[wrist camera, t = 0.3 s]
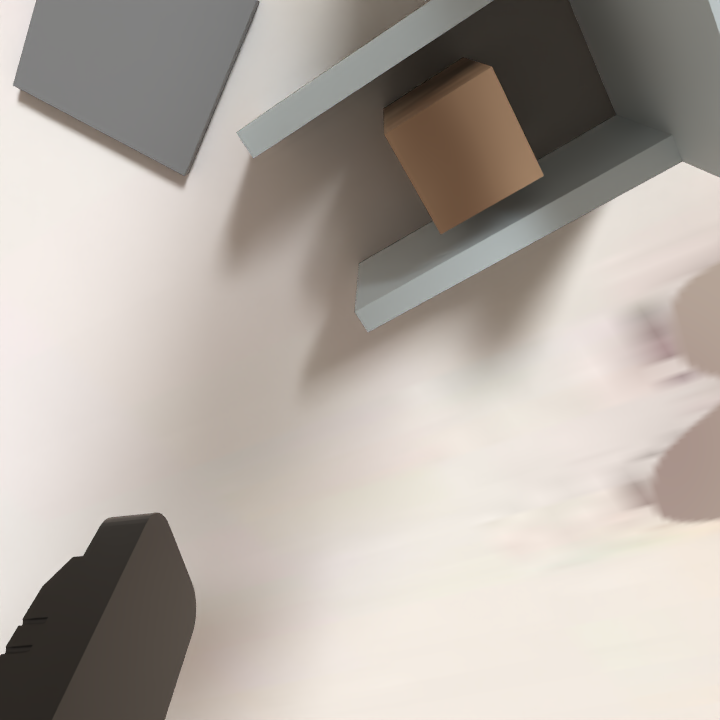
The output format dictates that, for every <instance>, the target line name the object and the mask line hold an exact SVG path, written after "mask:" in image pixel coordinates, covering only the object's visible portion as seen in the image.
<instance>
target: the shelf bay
mask: <svg viewBox="0 0 720 720" xmlns="http://www.w3.org/2000/svg"><path fill="white" fill-rule="evenodd" d="M492 1H493V0H430V1H429V2H427V3H426V4H424V5H423V6H421V7H420V8H418V9H417V10H416V11H414V12H413V13H411V14H410V15H408V16H407V17H405V18H404V19H402V20H401V21H399V22H398V23H396V24H395V25H393V26H392V27H390V28H389V29H387V30H386V31H385V32H383V33H382V34H380V35H379V36H377V37H376V38H374V39H373V40H371V41H370V42H368V43H367V44H365V45H364V46H362V47H361V48H359V49H358V50H356V51H355V52H354V53H352V54H351V55H349V56H348V57H346V58H345V59H343V60H342V61H340V62H339V63H337V64H336V65H334V66H333V67H331V68H330V69H328V70H327V71H325V72H324V73H322V74H321V75H320V76H318V77H317V78H315V79H314V80H312V81H311V82H309V83H308V84H306V85H305V86H303V87H302V88H300V89H299V90H297V91H296V92H294V93H293V94H291V95H290V96H289V97H287V98H286V99H284V100H283V101H281V102H280V103H278V104H277V105H275V106H274V107H272V108H271V109H269V110H268V111H266V112H265V113H263V114H262V115H261V116H259V117H258V118H256V119H255V120H253V121H252V122H251V123H249V124H248V125H246V126H245V127H244V128H242V129H241V130H239V131H238V132H236V133H237V134H238V136H239V137H240V139H241V140H242V142H243V143H244V145H245V147H246V148H247V150H248V151H249V153H250V154H251V156H252V157H253V159H254V158H255V157H257V156H258V155H260V154H261V153H263V152H264V151H266V150H267V149H269V148H270V147H272V146H273V145H275V144H276V143H278V142H279V141H281V140H282V139H284V138H285V137H287V136H288V135H290V134H291V133H293V132H295V131H296V130H298V129H299V128H301V127H302V126H304V125H305V124H307V123H308V122H310V121H311V120H313V119H314V118H316V117H317V116H319V115H320V114H322V113H323V112H325V111H326V110H328V109H329V108H331V107H332V106H334V105H336V104H337V103H339V102H340V101H342V100H343V99H345V98H346V97H348V96H349V95H351V94H352V93H354V92H355V91H357V90H358V89H360V88H361V87H363V86H364V85H366V84H367V83H369V82H370V81H372V80H373V79H375V78H377V77H378V76H380V75H381V74H383V73H384V72H386V71H387V70H389V69H390V68H392V67H393V66H395V65H396V64H398V63H399V62H401V61H402V60H404V59H405V58H407V57H408V56H410V55H411V54H413V53H414V52H416V51H418V50H419V49H421V48H422V47H424V46H425V45H427V44H428V43H430V42H431V41H433V40H434V39H436V38H437V37H439V36H440V35H442V34H443V33H445V32H446V31H448V30H449V29H451V28H452V27H454V26H455V25H457V24H459V23H460V22H462V21H463V20H465V19H466V18H468V17H469V16H471V15H472V14H474V13H475V12H477V11H478V10H480V9H481V8H483V7H484V6H486V5H487V4H489V3H490V2H492ZM569 2H570V5H571V7H572V9H573V12H574V14H575V17H576V19H577V21H578V24H579V26H580V29H581V31H582V34H583V36H584V38H585V41H586V43H587V46H588V48H589V50H590V53H591V55H592V58H593V60H594V63H595V65H596V67H597V70H598V72H599V75H600V77H601V79H602V82H603V84H604V87H605V89H606V92H607V94H608V96H609V99H610V101H611V104H612V106H613V109H614V111H615V113H616V115H615V116H613V117H612V118H610V119H608V120H607V121H605V122H603V123H601V124H600V125H598V126H596V127H594V128H593V129H591V130H589V131H588V132H586V133H584V134H582V135H581V136H579V137H577V138H575V139H574V140H572V141H570V142H568V143H567V144H565V145H563V146H562V147H560V148H558V149H556V150H555V151H553V152H551V153H549V154H548V155H546V156H544V157H543V158H541V159H539V160H537V162H538V164H539V166H540V168H541V170H542V172H543V175H544V176H543V177H541V178H539V179H538V180H536V181H534V182H532V183H531V184H529V185H527V186H525V187H524V188H522V189H520V190H518V191H517V192H515V193H513V194H511V195H510V196H508V197H506V198H504V199H503V200H501V201H499V202H497V203H495V204H494V205H492V206H490V207H488V208H487V209H485V210H483V211H481V212H480V213H478V214H476V215H474V216H473V217H471V218H469V219H467V220H466V221H464V222H462V223H460V224H459V225H457V226H455V227H453V228H452V229H450V230H448V231H446V232H445V233H443V234H440V232H439V231H438V229H437V227H436V225H435V223H434V222H433V221H432V222H430V223H428V224H427V225H425V226H423V227H421V228H420V229H418V230H416V231H415V232H413V233H411V234H409V235H408V236H406V237H404V238H402V239H401V240H399V241H397V242H396V243H394V244H392V245H390V246H389V247H387V248H385V249H383V250H382V251H380V252H378V253H376V254H375V255H373V256H371V257H370V258H368V259H366V260H364V261H363V262H361V263H359V269H358V280H357V291H356V302H355V313H356V315H357V316H358V318H359V319H360V321H361V322H362V324H363V326H364V327H365V329H366V330H367V332H370V331H372V330H373V329H375V328H377V327H379V326H381V325H383V324H384V323H386V322H388V321H390V320H392V319H394V318H395V317H397V316H399V315H401V314H403V313H405V312H406V311H408V310H410V309H412V308H414V307H416V306H417V305H419V304H421V303H423V302H425V301H427V300H429V299H430V298H432V297H434V296H436V295H438V294H440V293H441V292H443V291H445V290H447V289H449V288H451V287H452V286H454V285H456V284H458V283H460V282H462V281H463V280H465V279H467V278H469V277H471V276H473V275H474V274H476V273H478V272H480V271H482V270H484V269H486V268H487V267H489V266H491V265H493V264H495V263H497V262H498V261H500V260H502V259H504V258H506V257H508V256H509V255H511V254H513V253H515V252H517V251H519V250H520V249H522V248H524V247H526V246H528V245H530V244H531V243H533V242H535V241H537V240H539V239H541V238H542V237H544V236H546V235H548V234H550V233H552V232H554V231H555V230H557V229H559V228H561V227H563V226H565V225H566V224H568V223H570V222H572V221H574V220H576V219H577V218H579V217H581V216H583V215H585V214H587V213H588V212H590V211H592V210H594V209H596V208H598V207H599V206H601V205H603V204H605V203H607V202H609V201H610V200H612V199H614V198H616V197H618V196H620V195H622V194H623V193H625V192H627V191H629V190H631V189H633V188H634V187H636V186H638V185H640V184H642V183H644V182H645V181H647V180H649V179H651V178H653V177H655V176H656V175H658V174H660V173H662V172H664V171H666V170H667V169H669V168H671V167H673V166H675V165H677V164H678V163H680V162H682V161H683V162H685V163H688V164H690V165H692V166H695V167H697V168H699V169H702V170H704V171H706V172H708V173H711V174H713V175H715V176H718V177H720V0H569Z"/></svg>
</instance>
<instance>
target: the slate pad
mask: <svg viewBox="0 0 720 720" xmlns="http://www.w3.org/2000/svg"><path fill="white" fill-rule="evenodd" d="M258 4H259V1H258V0H36V3H35V7H34V11H33V14H32V18H31V22H30V25H29V29H28V32H27V36H26V40H25V43H24V47H23V51H22V54H21V58H20V62H19V65H18V69H17V73H16V76H15V80H14V83H13V86H15V87H17V88H19V89H21V90H23V91H25V92H27V93H28V94H30V95H32V96H34V97H36V98H38V99H40V100H42V101H44V102H45V103H47V104H49V105H51V106H53V107H55V108H57V109H59V110H61V111H62V112H64V113H66V114H68V115H70V116H72V117H74V118H76V119H78V120H79V121H81V122H83V123H85V124H87V125H89V126H91V127H93V128H95V129H96V130H98V131H100V132H102V133H104V134H106V135H108V136H110V137H112V138H113V139H115V140H117V141H119V142H121V143H123V144H125V145H127V146H129V147H130V148H132V149H134V150H136V151H138V152H140V153H142V154H144V155H145V156H147V157H149V158H151V159H153V160H155V161H157V162H159V163H161V164H162V165H164V166H166V167H168V168H170V169H172V170H174V171H176V172H178V173H179V174H181V175H183V176H185V175H187V174H188V173H189V171H190V168H191V166H192V163H193V161H194V159H195V156H196V154H197V151H198V149H199V146H200V144H201V142H202V139H203V137H204V134H205V132H206V130H207V127H208V125H209V122H210V120H211V117H212V115H213V113H214V110H215V108H216V105H217V103H218V101H219V98H220V96H221V93H222V91H223V88H224V86H225V84H226V81H227V79H228V76H229V74H230V72H231V69H232V67H233V64H234V62H235V59H236V57H237V55H238V52H239V50H240V47H241V45H242V43H243V40H244V38H245V35H246V33H247V31H248V28H249V26H250V23H251V21H252V18H253V16H254V14H255V11H256V9H257V6H258Z"/></svg>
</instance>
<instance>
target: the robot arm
mask: <svg viewBox="0 0 720 720" xmlns="http://www.w3.org/2000/svg"><path fill="white" fill-rule="evenodd" d="M195 617H196V599H195V592H194V588H193V585H192V582H191V579H190V577H189V574H188V572H187V569H186V567H185V564H184V562H183V559H182V557H181V554H180V551H179V549H178V546H177V544H176V541H175V539H174V536H173V534H172V531H171V529H170V526H169V524H168V521H167V520H166V518H165V517H164V516H163V515H162V514H160V513H150V514H140V515H130V516H121V517H111V518H108V519H106V520H105V521H104V522H103V523H102V524H101V526H100V527H99V529H98V531H97V533H96V534H95V536H94V538H93V540H92V541H91V543H90V545H89V547H88V548H87V550H86V552H85V554H84V555H83V556H80V557H73V558H72V559H70V560H69V561H68V562H67V563H66V564H65V565H64V566H63V567H62V568H61V569H60V570H59V571H58V572H57V573H56V574H55V575H54V576H53V577H52V578H51V579H50V580H49V581H48V582H47V583H45V584H44V585H43V586H42V588H41V590H40V591H39V593H38V595H37V596H36V598H35V600H34V601H33V603H32V604H31V606H30V608H29V609H28V611H27V613H26V614H25V616H24V618H23V625H22V626H18V628H17V629H16V631H15V632H14V634H13V636H12V637H11V639H10V641H9V642H8V644H7V646H6V653H5V654H1V655H0V720H165V717H166V714H167V711H168V707H169V704H170V701H171V698H172V695H173V692H174V689H175V686H176V683H177V679H178V676H179V673H180V670H181V667H182V664H183V661H184V658H185V655H186V651H187V648H188V645H189V642H190V639H191V636H192V633H193V629H194V624H195Z"/></svg>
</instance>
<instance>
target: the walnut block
mask: <svg viewBox="0 0 720 720" xmlns="http://www.w3.org/2000/svg"><path fill="white" fill-rule="evenodd" d="M383 115H384V135H385V137H386V139H387V140H388V142H389V144H390V146H391V148H392V149H393V151H394V153H395V155H396V156H397V158H398V160H399V162H400V163H401V165H402V167H403V169H404V171H405V172H406V174H407V176H408V178H409V179H410V181H411V183H412V185H413V186H414V188H415V190H416V192H417V193H418V195H419V197H420V199H421V201H422V202H423V204H424V206H425V208H426V209H427V211H428V213H429V215H430V216H431V218H432V220H433V222H434V223H435V225H436V227H437V229H438V231H439V232H440V234H443V233H445V232H446V231H448V230H450V229H452V228H453V227H455V226H457V225H459V224H460V223H462V222H464V221H466V220H467V219H469V218H471V217H473V216H474V215H476V214H478V213H480V212H481V211H483V210H485V209H487V208H488V207H490V206H492V205H494V204H495V203H497V202H499V201H501V200H503V199H504V198H506V197H508V196H510V195H511V194H513V193H515V192H517V191H518V190H520V189H522V188H524V187H525V186H527V185H529V184H531V183H532V182H534V181H536V180H538V179H539V178H541V177H543V176H544V175H543V172H542V170H541V168H540V166H539V164H538V162H537V160H536V158H535V156H534V154H533V151H532V149H531V147H530V145H529V143H528V141H527V139H526V137H525V135H524V133H523V131H522V128H521V126H520V124H519V122H518V120H517V118H516V116H515V114H514V112H513V110H512V107H511V105H510V103H509V101H508V99H507V97H506V95H505V93H504V91H503V89H502V86H501V84H500V82H499V80H498V78H497V76H496V74H495V72H494V70H493V68H492V66H489V65H486V64H483V63H480V62H476V61H473V60H470V59H467V58H464V57H463V58H462V59H460V60H459V61H457V62H455V63H454V64H452V65H451V66H449V67H448V68H446V69H445V70H443V71H441V72H440V73H438V74H437V75H435V76H434V77H432V78H431V79H429V80H427V81H426V82H424V83H423V84H421V85H420V86H418V87H417V88H415V89H413V90H412V91H410V92H409V93H407V94H406V95H404V96H403V97H401V98H399V99H398V100H396V101H395V102H393V103H392V104H390V105H389V106H387V107H385V108H384V109H383Z"/></svg>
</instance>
